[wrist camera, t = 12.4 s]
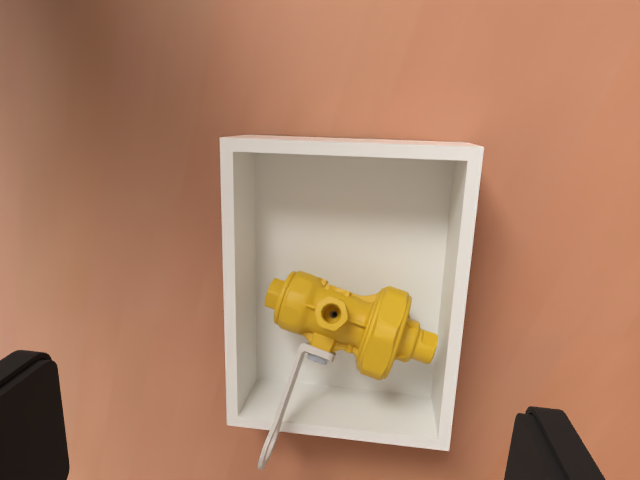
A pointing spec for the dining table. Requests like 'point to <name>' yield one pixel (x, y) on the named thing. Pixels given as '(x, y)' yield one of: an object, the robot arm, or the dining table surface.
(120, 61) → the dining table surface
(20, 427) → the robot arm
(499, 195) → the dining table surface
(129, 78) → the dining table surface
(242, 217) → the bin
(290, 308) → the pressure relief valve
